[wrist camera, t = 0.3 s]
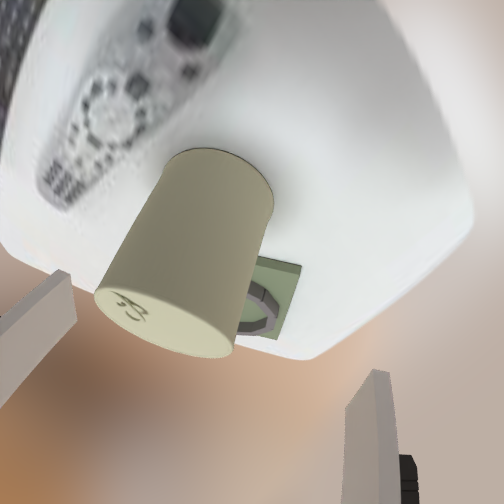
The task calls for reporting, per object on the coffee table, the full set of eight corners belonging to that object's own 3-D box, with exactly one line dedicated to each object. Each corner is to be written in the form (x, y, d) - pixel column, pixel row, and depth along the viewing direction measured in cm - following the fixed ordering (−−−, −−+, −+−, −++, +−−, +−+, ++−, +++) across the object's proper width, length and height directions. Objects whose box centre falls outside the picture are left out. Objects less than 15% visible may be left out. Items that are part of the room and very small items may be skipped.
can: (234, 130, 20) (155, 293, 13) (293, 223, 25) (260, 370, 19) (141, 169, 24) (66, 296, 18) (204, 239, 30) (159, 358, 23)
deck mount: (144, 230, 31) (134, 249, 30) (301, 266, 30) (297, 289, 28) (172, 306, 46) (166, 321, 45) (278, 333, 45) (274, 349, 43)
